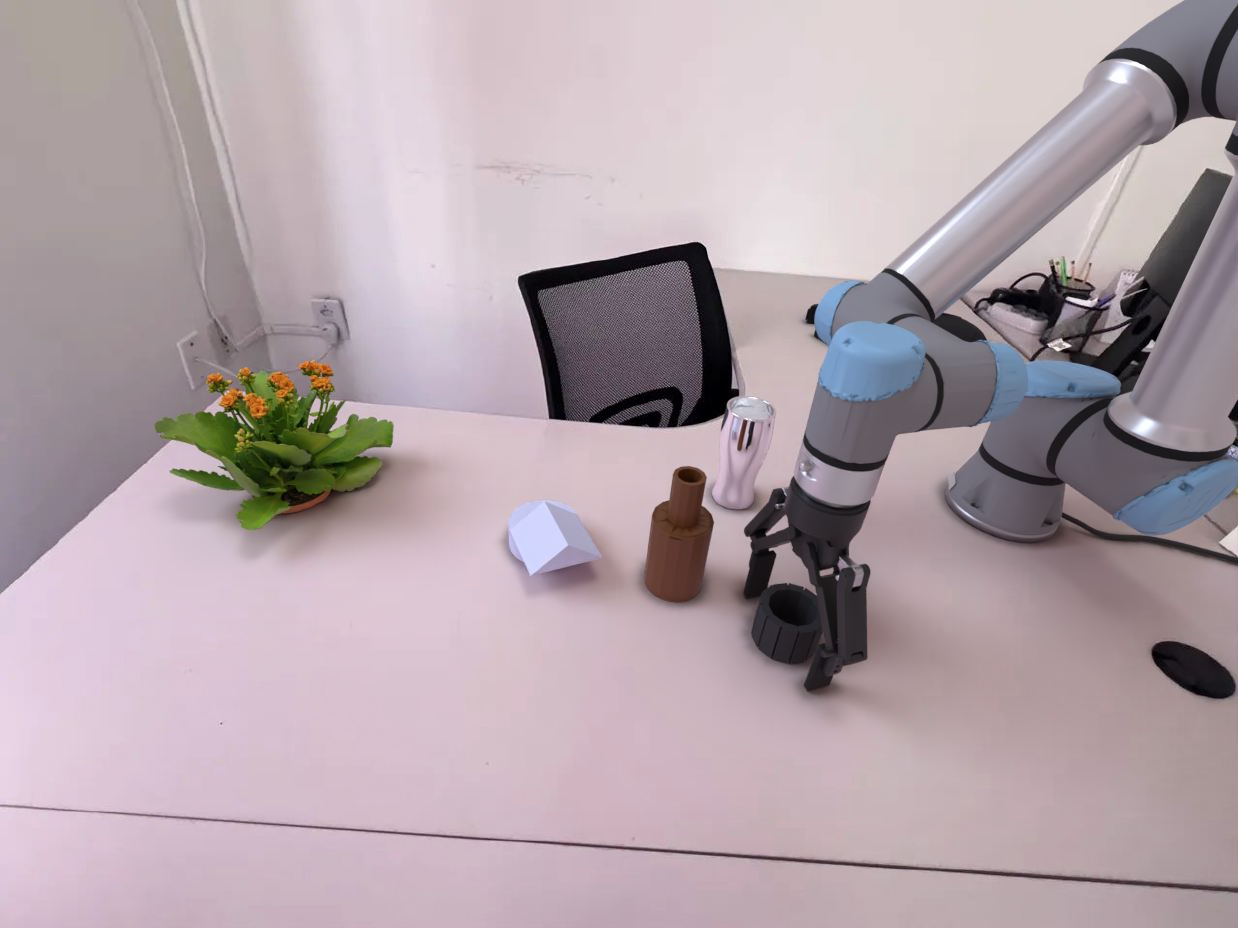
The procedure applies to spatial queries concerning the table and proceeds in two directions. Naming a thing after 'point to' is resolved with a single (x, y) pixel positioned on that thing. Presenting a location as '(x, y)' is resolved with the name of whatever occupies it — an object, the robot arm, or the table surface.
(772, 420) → the beer glass
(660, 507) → the brown bottle
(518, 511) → the wedge on round base
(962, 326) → the black flat oval pad
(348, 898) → the table surface
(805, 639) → the rubber collar
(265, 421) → the potted flower
